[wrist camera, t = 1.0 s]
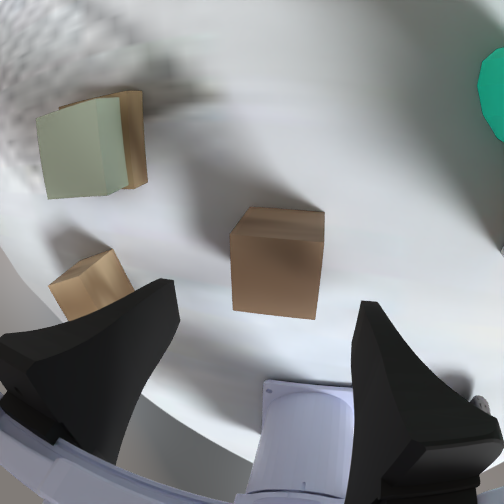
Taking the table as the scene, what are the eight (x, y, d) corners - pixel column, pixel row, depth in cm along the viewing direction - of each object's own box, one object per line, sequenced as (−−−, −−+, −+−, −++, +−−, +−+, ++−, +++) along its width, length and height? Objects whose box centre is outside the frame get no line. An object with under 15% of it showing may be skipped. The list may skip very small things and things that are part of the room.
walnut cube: (318, 277, 18) (315, 319, 14) (250, 270, 19) (232, 310, 15) (324, 211, 16) (324, 242, 13) (250, 206, 17) (229, 234, 13)
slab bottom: (151, 180, 18) (134, 189, 16) (86, 182, 19) (67, 190, 17) (146, 90, 16) (127, 90, 14) (79, 104, 17) (58, 107, 15)
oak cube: (138, 296, 22) (109, 329, 18) (104, 303, 23) (75, 332, 20) (113, 248, 20) (78, 275, 17) (80, 260, 22) (48, 285, 18)
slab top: (128, 185, 16) (107, 195, 14) (69, 189, 17) (47, 199, 16) (119, 97, 14) (95, 98, 12) (58, 114, 15) (35, 118, 13)
